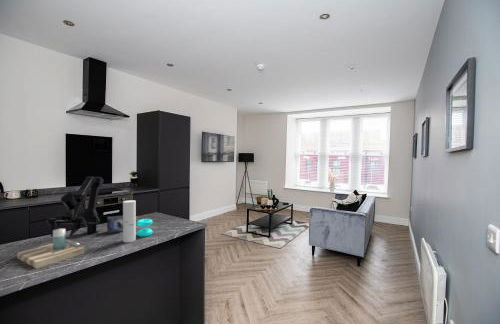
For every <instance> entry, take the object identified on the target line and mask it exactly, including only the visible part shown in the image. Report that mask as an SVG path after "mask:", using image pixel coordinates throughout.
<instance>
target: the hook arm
mask: <svg viewBox="0 0 500 324" xmlns="http://www.w3.org/2000/svg"><path fill="white" fill-rule="evenodd" d="M66 243H69V245H73V247H75V246H77V247H79V246H81V244H80V243H78V242H75V241H73V240H70V239H68V238H66Z"/></svg>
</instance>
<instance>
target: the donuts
mask: <svg viewBox="0 0 500 324" xmlns="http://www.w3.org/2000/svg"><path fill="white" fill-rule="evenodd" d="M153 223H154V221H153V220H152V219H151V218H142V219H139V220H138V221H137V222H136V225H137V226H138V227H142V229H139V230H137V232H136V236H138V237H140V238H141V237H142V238H144V237H149V236H151V235H152V234H153V230H152V229H151V228H148V227H150V226H151V225H152V224H153ZM145 227H147V228H145Z"/></svg>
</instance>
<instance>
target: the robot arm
mask: <svg viewBox="0 0 500 324" xmlns="http://www.w3.org/2000/svg"><path fill="white" fill-rule="evenodd" d="M104 181H105V180H104V178H103V177H101V176H86V177H85V180H84V181H83V182H82V184H81V186H80V187H79V188H78V190H75V191H74V192H67V193H66V194H65V195H63V196H61V198H60V201H61V203H63V205H64V206H65V207H66V208H67V209H66V210H58V212H57V217H59V218H60V219H61V220H59V219H58V218H56V217H54V218H53V217H52V218H48V219H47V220H46V222H45V223H46V224H47V226H49V227H50V228H51V229H50V237H51V238H53V230H55V229H60V228H59V227H60V225H70V224H71V225H72V224H73V227H72V229H71V230H70V233H69V237H72V236H73V235H74V234H75V233H77V232H78V231H79V230H80V229H81V228H83V227H86V231H85V232H83V234H86V235H93V234H96V233H99V230H97V225H100V221H101V220H100V218H99V216H98V212H97V209H96V208H97V204H98V197H99V196H98V195H99V191H100V189H101V188H102V186H103V184H104ZM89 190H90V192H89ZM87 193H89V197H87ZM87 198H89V199H88V202H87V203H88V204H87V209H86V210H84V211H83V213H82V214H83V215H82V217H78V213H79V210H82V205H81V203H82V204H83V203H85V202H86V201H87Z"/></svg>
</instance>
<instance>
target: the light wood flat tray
mask: <svg viewBox="0 0 500 324" xmlns="http://www.w3.org/2000/svg"><path fill="white" fill-rule="evenodd" d="M16 254H17V257H16V258H17V260H19V261H22V262H23V263H25V264H27V265H29V266H31V267H33V268H34V269H39V268H42V267H45V266H49V265H52V264H54V263H57V262H61V261H64V260H67V259H71V258H73V257H77V256H81V255H83V254H85V247H84V246H81V245H80V246H79V247H77V246H73V247H70V244H69V243H66V249H65V250H62V251H58V252H55V253H53V243H50V244H46V245H42V246H38V247H34V248H30V249H26V250H23V251H19V252H17V253H16Z"/></svg>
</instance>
